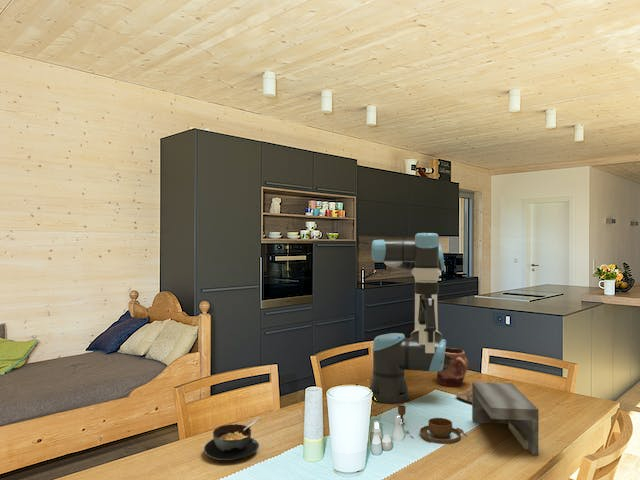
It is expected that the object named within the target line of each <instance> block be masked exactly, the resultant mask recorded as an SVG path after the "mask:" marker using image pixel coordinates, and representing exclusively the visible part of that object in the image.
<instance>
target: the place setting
mask: <svg viewBox="0 0 640 480" xmlns="http://www.w3.org/2000/svg"><path fill="white" fill-rule="evenodd" d="M406 408H407V407H406V405H404V404H400V405H397V413H398V415H399V416H400V418H401V419H402V422H403V425H405V422H404V416H405V415H406V410H407V409H406ZM427 422H428V425H425V426H422V427H421V428H420V429H419V433H420V434H419V435H420V436H421V438H422V439H424V440H425V441H427V442H431V443H436V444H452V443H454V444H455V443H456V442H458V441H460V439H461V437H462V435H463V436H465V437H467V438H468V435H466V433H464V430H463V428H460V427H456V428H455V427H453V421H451V420H450V419H448V418H443V417H432V418H429V419H428V421H427ZM403 425H402V426H403ZM428 431H429V432H430V434H431V435H433V437H434V438H433V437H430V434H429V432H428ZM404 433H405V434H406V435H408V434H411V432H410V431H409V430H405V431H404ZM451 434H455V435H456V436H457V437H455V438H450V439H447V437H448V436H450V435H451ZM409 436H410V438H411V439H413V440H414V439H415V437H413V436H412V435H409Z"/></svg>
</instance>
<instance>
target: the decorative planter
mask: <svg viewBox="0 0 640 480" xmlns="http://www.w3.org/2000/svg"><path fill="white" fill-rule="evenodd" d="M469 366H470V365H469V361H468V359H467V357H466V353H465V351H464V350H463V348H462V349H461V348H452V347H446V348H445V357H444V365H443V369H442V370H441V371H436V380H437V382H438V384H440V385H441V386H445V387H458V386H461V385H462V384H464V383H463V382H464V379H465V376H466V374H467V371H468V370H469Z"/></svg>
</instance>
